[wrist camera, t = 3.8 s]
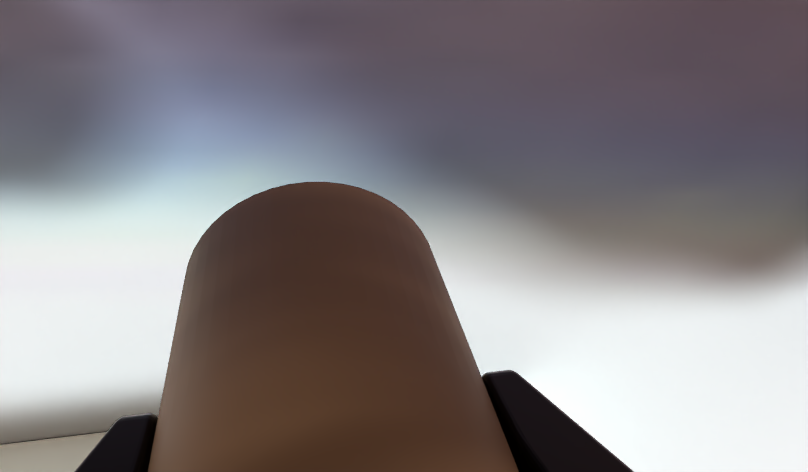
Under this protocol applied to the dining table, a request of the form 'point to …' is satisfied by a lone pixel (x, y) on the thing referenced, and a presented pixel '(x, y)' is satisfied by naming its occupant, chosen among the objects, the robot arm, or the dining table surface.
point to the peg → (321, 347)
